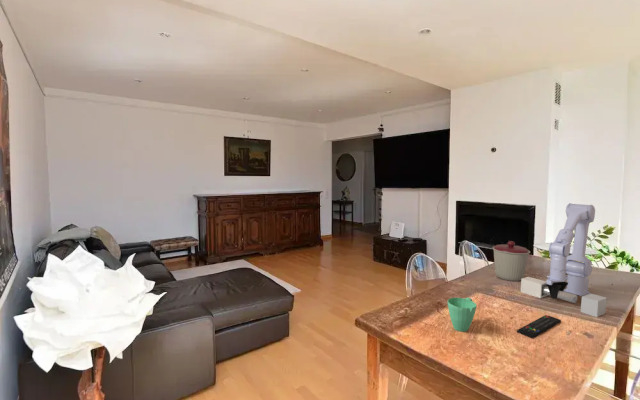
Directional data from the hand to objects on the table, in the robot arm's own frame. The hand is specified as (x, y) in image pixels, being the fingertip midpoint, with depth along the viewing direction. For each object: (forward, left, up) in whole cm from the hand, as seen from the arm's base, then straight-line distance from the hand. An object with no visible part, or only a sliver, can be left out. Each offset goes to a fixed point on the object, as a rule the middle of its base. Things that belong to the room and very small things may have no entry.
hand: (555, 297), depth 144 cm
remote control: (+34, +10, -2) cm, 36 cm away
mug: (+60, -4, -2) cm, 60 cm away
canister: (-13, -29, -2) cm, 32 cm away
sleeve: (0, -9, -2) cm, 10 cm away
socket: (0, +14, -2) cm, 14 cm away
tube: (0, -4, 0) cm, 4 cm away
